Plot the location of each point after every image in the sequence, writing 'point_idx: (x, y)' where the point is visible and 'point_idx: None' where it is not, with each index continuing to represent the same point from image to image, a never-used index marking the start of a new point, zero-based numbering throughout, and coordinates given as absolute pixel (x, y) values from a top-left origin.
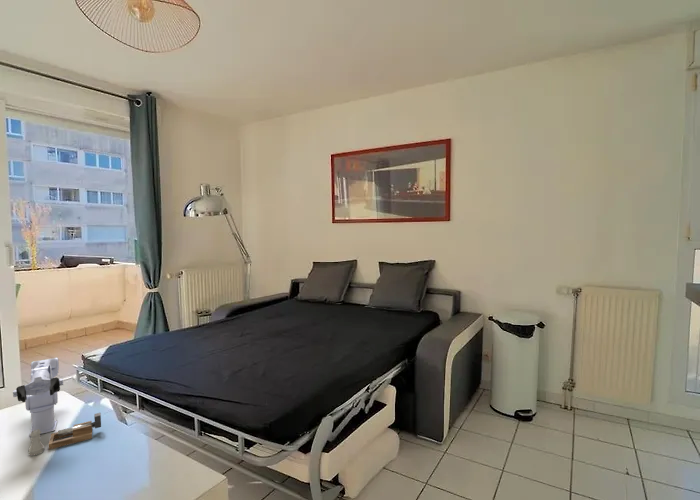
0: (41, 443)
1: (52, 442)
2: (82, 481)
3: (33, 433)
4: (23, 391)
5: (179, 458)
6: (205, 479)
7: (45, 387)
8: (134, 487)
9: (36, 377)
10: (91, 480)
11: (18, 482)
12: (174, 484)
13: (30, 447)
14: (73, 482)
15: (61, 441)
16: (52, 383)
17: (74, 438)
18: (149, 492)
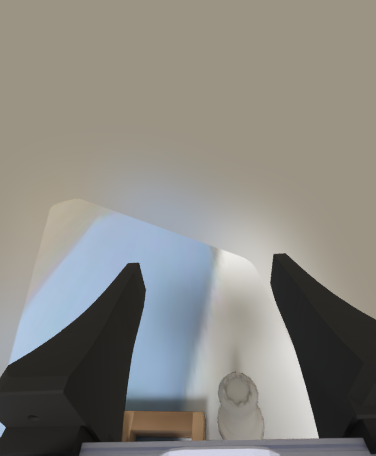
0: (224, 420)
1: (191, 421)
2: (152, 246)
3: (241, 377)
4: (312, 295)
5: (42, 243)
6: (59, 209)
7: (153, 446)
8: (110, 218)
9: (239, 447)
10: (142, 244)
11: (242, 283)
12: (81, 211)
13: (255, 409)
14: (162, 249)
15: (165, 411)
16: (92, 319)
17: (129, 412)
18: (104, 209)
